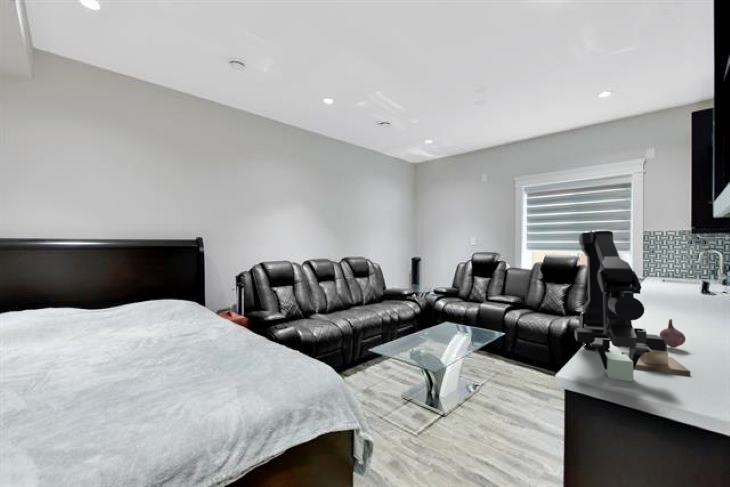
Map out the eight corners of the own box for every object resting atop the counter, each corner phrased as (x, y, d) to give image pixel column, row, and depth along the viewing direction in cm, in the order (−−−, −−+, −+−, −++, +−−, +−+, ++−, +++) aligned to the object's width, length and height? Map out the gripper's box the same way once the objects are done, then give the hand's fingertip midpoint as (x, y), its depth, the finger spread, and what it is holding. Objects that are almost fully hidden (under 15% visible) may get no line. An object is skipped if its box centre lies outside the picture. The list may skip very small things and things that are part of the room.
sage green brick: (609, 378, 83) (608, 359, 83) (604, 370, 88) (603, 352, 88) (633, 381, 81) (633, 361, 81) (626, 373, 86) (626, 354, 86)
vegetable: (655, 345, 110) (654, 316, 110) (675, 345, 109) (674, 317, 109) (669, 350, 104) (668, 320, 104) (690, 351, 103) (689, 321, 103)
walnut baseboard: (632, 368, 89) (632, 364, 89) (621, 355, 100) (621, 351, 100) (690, 375, 84) (690, 371, 84) (671, 361, 94) (671, 357, 94)
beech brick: (645, 362, 90) (644, 345, 90) (638, 356, 96) (638, 339, 96) (668, 365, 88) (667, 347, 88) (660, 358, 93) (659, 341, 94)
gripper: (579, 315, 82) (580, 375, 82) (675, 322, 73) (677, 389, 73) (573, 307, 92) (575, 361, 92) (658, 313, 83) (659, 372, 83)
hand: (617, 370), depth 84 cm, fingers closed on sage green brick, 5 cm apart
